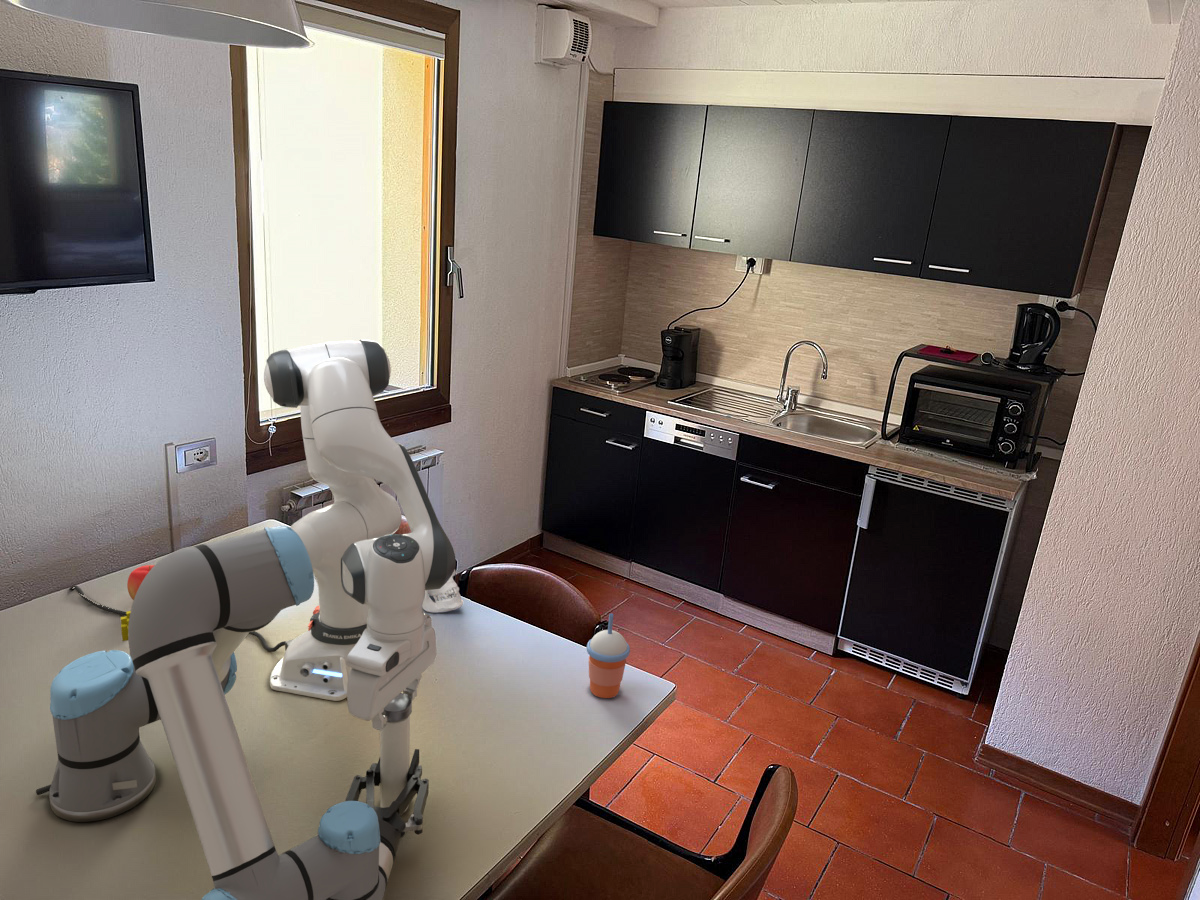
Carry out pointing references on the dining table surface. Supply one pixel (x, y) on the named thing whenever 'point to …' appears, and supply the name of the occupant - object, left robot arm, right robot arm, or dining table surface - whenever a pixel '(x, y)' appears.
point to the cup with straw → (607, 661)
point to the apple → (137, 579)
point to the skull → (443, 604)
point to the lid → (398, 708)
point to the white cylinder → (394, 760)
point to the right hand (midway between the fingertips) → (395, 712)
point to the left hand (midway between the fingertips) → (401, 755)
